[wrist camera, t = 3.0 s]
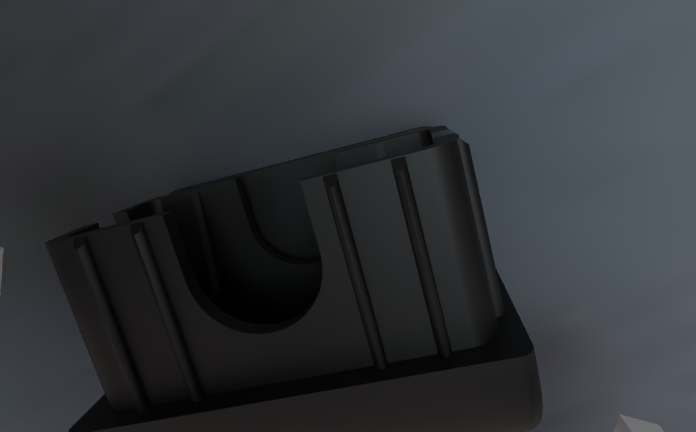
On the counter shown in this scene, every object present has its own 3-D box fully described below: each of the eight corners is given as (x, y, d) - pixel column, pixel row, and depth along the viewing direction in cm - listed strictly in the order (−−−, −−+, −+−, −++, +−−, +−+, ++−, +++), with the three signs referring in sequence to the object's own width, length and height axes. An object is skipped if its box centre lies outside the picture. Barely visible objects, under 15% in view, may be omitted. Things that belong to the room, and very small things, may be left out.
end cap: (218, 386, 18) (111, 553, 12) (152, 195, 17) (-13, 263, 10) (504, 334, 16) (566, 494, 10) (456, 117, 15) (493, 137, 9)
